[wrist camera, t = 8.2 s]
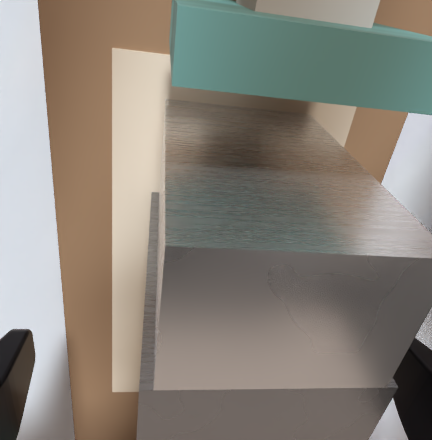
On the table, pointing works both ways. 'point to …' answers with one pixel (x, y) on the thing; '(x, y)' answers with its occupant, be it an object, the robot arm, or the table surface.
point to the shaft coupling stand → (153, 136)
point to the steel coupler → (273, 282)
